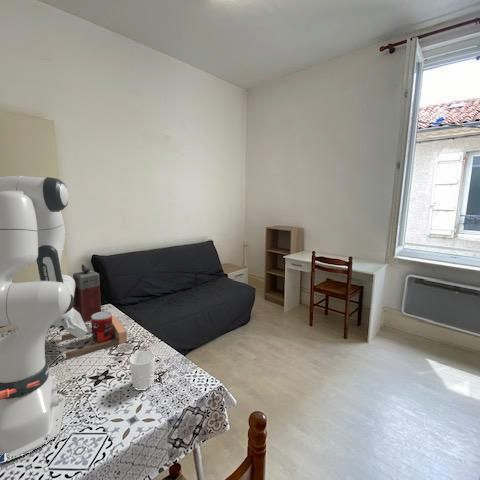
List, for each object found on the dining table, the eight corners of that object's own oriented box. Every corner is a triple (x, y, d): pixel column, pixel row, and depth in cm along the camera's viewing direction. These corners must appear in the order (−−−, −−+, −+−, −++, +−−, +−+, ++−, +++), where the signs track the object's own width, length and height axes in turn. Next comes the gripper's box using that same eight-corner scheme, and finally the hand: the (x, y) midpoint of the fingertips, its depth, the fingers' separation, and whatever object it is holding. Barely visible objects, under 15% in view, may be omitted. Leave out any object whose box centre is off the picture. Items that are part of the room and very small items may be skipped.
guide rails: (119, 344, 114) (119, 339, 114) (66, 359, 103) (66, 354, 102) (109, 327, 128) (109, 323, 127) (61, 339, 116) (61, 335, 116)
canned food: (93, 335, 120) (92, 312, 118) (113, 332, 123) (112, 310, 121) (91, 344, 113) (90, 320, 111) (112, 341, 116) (111, 317, 115)
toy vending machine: (70, 318, 135) (66, 264, 131) (94, 311, 144) (90, 260, 139) (78, 324, 130) (73, 268, 125) (101, 316, 138) (98, 264, 134)
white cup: (129, 394, 86) (128, 366, 84) (132, 378, 94) (131, 352, 92) (155, 390, 88) (154, 362, 86) (155, 374, 96) (155, 349, 94)
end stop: (126, 342, 116) (126, 331, 115) (119, 344, 114) (118, 333, 113) (116, 325, 130) (115, 315, 129) (109, 327, 128) (108, 317, 127)
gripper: (71, 318, 100) (101, 334, 108) (64, 300, 116) (91, 315, 123) (57, 332, 98) (89, 348, 106) (52, 312, 114) (80, 327, 121)
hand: (90, 330), depth 115 cm, fingers closed, pressing on canned food
